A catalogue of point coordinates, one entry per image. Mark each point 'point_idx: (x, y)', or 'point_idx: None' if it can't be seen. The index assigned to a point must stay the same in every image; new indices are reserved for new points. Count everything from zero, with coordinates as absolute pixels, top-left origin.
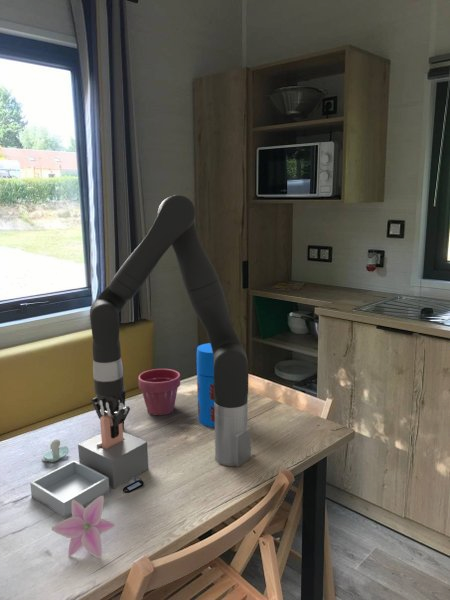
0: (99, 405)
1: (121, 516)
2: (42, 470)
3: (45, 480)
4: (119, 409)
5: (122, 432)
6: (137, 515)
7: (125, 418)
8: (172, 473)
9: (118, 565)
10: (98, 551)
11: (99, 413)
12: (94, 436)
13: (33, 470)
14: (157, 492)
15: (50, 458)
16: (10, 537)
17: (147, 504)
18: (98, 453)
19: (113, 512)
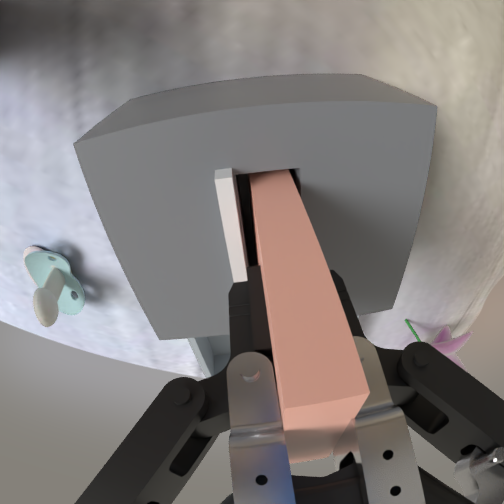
0: (162, 502)
1: (433, 269)
2: (106, 310)
3: (207, 358)
4: (464, 482)
5: (306, 216)
6: (460, 247)
7: (465, 373)
8: (448, 55)
9: (472, 313)
10: (445, 331)
11: (202, 455)
12: (126, 274)
13: (96, 321)
14: (464, 162)
15: (69, 294)
16: None
17: (463, 212)
18: None
19: (411, 275)
